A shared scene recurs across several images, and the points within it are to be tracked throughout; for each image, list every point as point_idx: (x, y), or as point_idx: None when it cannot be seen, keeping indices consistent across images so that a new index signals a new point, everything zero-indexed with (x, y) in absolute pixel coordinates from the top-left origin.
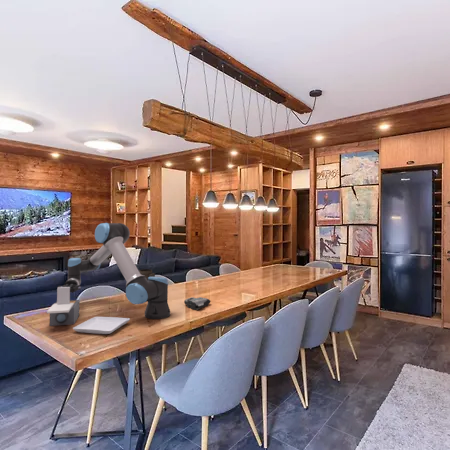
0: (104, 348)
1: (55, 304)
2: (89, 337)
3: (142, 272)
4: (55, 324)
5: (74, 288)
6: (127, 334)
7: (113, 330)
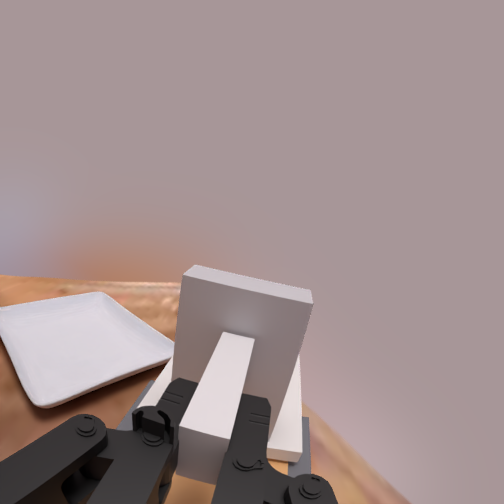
0: (144, 284)
1: (284, 426)
2: None
3: None
4: None
5: (46, 445)
6: (63, 295)
7: (86, 298)
